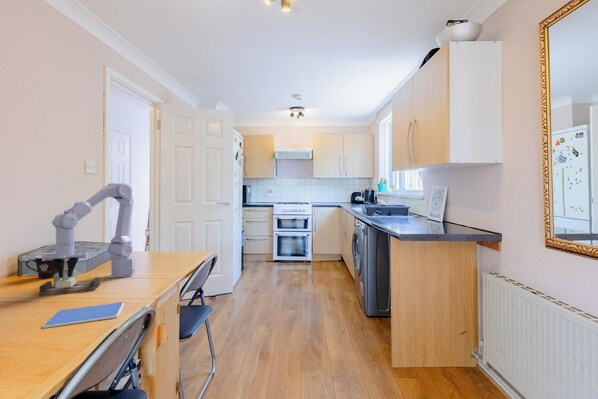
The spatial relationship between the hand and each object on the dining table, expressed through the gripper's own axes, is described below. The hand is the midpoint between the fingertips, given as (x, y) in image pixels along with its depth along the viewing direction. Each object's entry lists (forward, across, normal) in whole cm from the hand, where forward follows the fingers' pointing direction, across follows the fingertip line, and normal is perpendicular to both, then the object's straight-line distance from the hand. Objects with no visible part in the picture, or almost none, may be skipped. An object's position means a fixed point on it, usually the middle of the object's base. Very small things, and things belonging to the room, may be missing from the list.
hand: (66, 276), depth 114 cm
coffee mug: (+6, -16, +24) cm, 30 cm away
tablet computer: (+6, +16, -29) cm, 33 cm away
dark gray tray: (+6, +2, 0) cm, 6 cm away
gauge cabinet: (+6, -3, +9) cm, 11 cm away
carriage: (+4, 0, 0) cm, 4 cm away
